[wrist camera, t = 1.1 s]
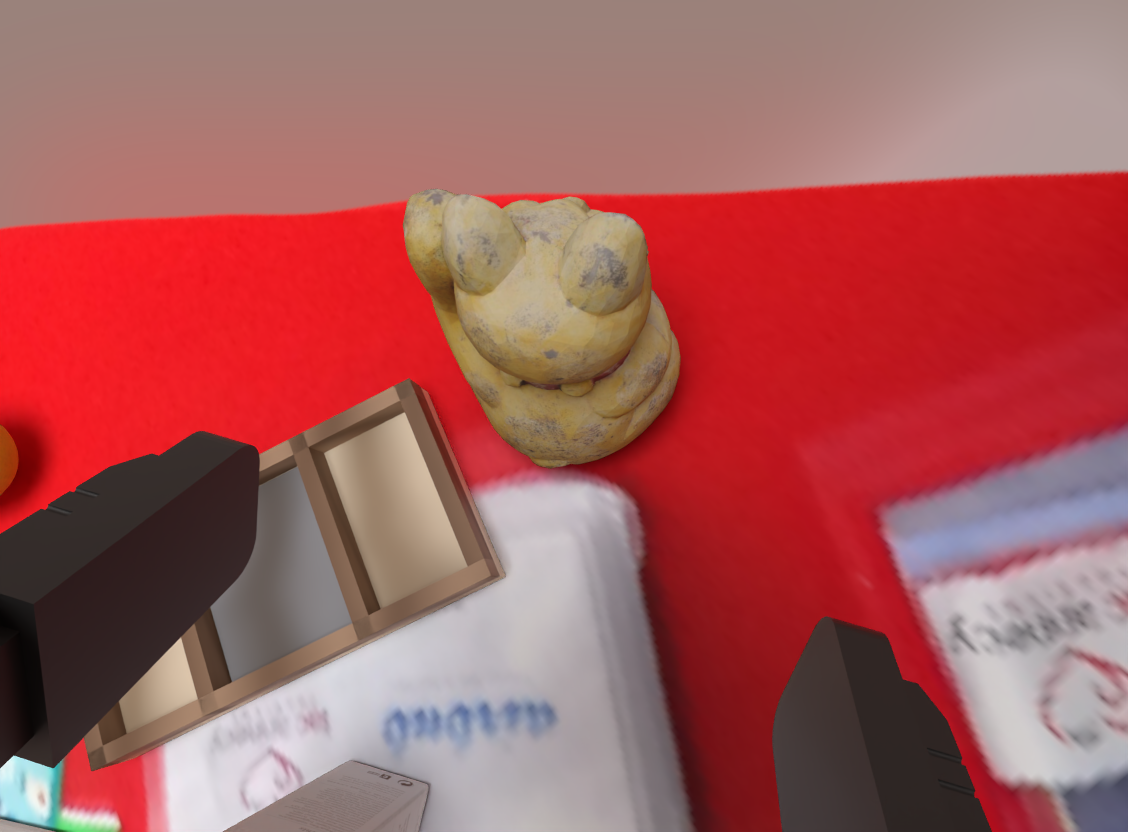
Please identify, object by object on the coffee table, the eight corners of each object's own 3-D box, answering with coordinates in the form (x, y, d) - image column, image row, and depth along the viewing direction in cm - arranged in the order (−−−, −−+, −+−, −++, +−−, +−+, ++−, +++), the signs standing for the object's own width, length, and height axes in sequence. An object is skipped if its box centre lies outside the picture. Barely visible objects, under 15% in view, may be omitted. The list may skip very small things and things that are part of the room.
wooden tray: (427, 392, 36) (409, 378, 34) (505, 576, 33) (491, 575, 31) (86, 565, 37) (44, 563, 35) (133, 758, 34) (91, 771, 32)
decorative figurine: (688, 322, 35) (686, 132, 20) (670, 491, 33) (653, 414, 19) (497, 309, 37) (371, 126, 22) (470, 468, 35) (314, 381, 20)
